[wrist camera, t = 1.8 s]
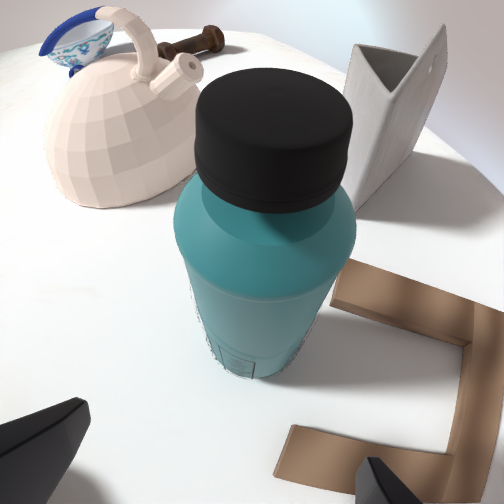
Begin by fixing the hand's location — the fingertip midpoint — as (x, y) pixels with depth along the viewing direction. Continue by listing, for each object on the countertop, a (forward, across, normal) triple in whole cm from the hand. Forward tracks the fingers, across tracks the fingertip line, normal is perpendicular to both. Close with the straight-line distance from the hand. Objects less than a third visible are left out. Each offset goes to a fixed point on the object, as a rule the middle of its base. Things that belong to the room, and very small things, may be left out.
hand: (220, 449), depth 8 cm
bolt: (+47, +20, -27) cm, 58 cm away
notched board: (+13, -14, +6) cm, 20 cm away
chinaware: (+48, +42, -28) cm, 70 cm away
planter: (+31, -8, -11) cm, 34 cm away
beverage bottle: (+15, 0, +4) cm, 16 cm away
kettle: (+29, +18, -10) cm, 36 cm away
